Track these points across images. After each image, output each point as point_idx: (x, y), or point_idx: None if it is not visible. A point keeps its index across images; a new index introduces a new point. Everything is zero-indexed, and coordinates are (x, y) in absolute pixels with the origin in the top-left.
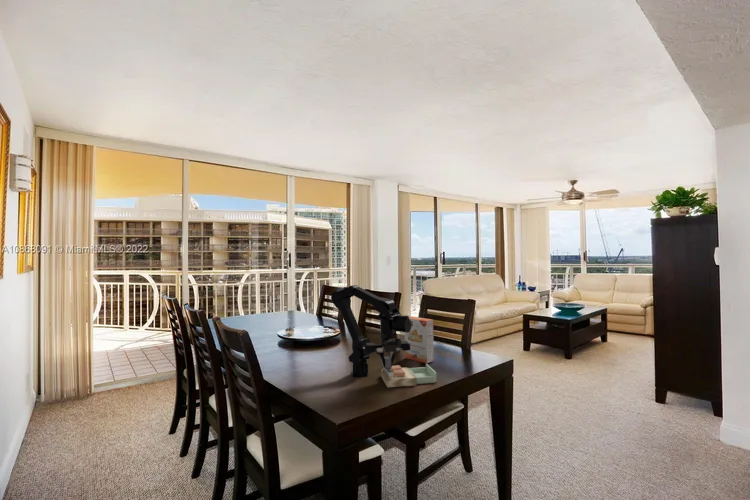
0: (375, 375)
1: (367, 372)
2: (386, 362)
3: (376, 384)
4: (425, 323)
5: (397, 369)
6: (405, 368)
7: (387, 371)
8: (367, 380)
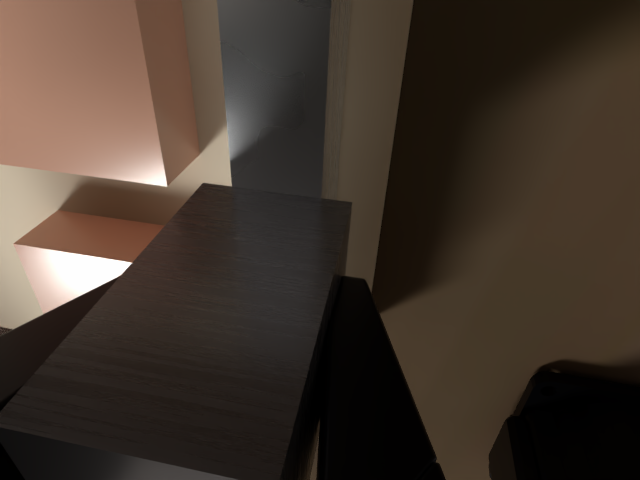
0: (426, 357)
1: (519, 424)
2: (270, 329)
3: (591, 14)
4: None
5: (99, 241)
6: (14, 302)
7: (331, 64)
8: (626, 246)
